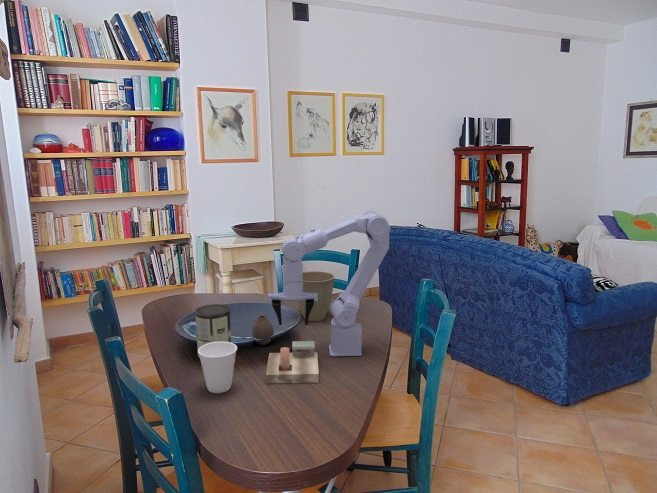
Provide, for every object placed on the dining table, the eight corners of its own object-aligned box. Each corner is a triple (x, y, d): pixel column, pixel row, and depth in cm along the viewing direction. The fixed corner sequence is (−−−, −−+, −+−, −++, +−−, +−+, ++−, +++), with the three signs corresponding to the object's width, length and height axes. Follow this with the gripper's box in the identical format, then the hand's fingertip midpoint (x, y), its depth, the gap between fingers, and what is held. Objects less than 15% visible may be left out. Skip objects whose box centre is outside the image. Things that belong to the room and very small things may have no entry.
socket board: (317, 360, 145) (317, 352, 145) (318, 382, 131) (318, 373, 131) (269, 360, 144) (269, 352, 144) (266, 383, 131) (265, 374, 130)
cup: (219, 401, 121) (217, 360, 119) (191, 391, 127) (189, 351, 124) (246, 385, 130) (245, 346, 127) (219, 376, 135) (217, 338, 133)
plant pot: (342, 316, 183) (342, 274, 179) (320, 328, 170) (320, 283, 167) (309, 308, 190) (308, 268, 187) (285, 319, 178) (285, 277, 175)
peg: (288, 373, 137) (287, 346, 135) (290, 377, 134) (290, 349, 133) (279, 375, 136) (279, 347, 134) (282, 378, 133) (281, 351, 132)
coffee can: (211, 344, 156) (209, 302, 153) (238, 350, 152) (237, 306, 149) (189, 356, 147) (187, 312, 144) (217, 363, 143) (215, 317, 140)
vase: (269, 347, 154) (269, 321, 152) (249, 345, 155) (248, 319, 153) (276, 339, 161) (276, 313, 159) (256, 337, 162) (255, 312, 160)
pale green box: (314, 360, 145) (314, 341, 144) (314, 366, 141) (314, 346, 140) (292, 360, 145) (292, 341, 144) (292, 366, 141) (292, 346, 140)
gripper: (317, 276, 148) (317, 318, 151) (268, 276, 147) (269, 319, 150) (317, 282, 141) (317, 327, 144) (267, 283, 140) (268, 327, 143)
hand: (293, 323), depth 147 cm, fingers open, 7 cm apart
